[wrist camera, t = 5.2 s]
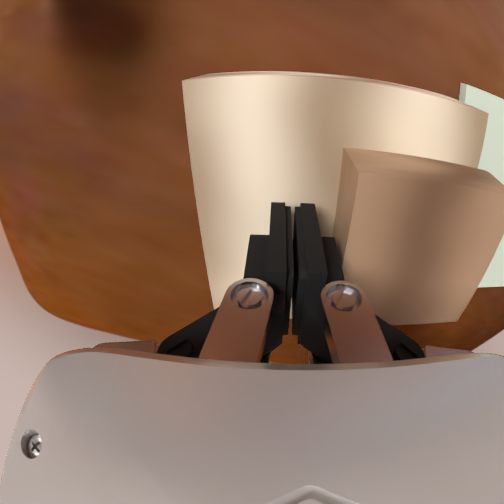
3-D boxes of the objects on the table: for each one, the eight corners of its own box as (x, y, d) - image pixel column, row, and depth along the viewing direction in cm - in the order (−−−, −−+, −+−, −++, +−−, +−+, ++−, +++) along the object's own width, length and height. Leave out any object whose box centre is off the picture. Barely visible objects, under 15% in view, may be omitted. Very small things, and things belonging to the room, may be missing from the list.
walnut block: (487, 171, 9) (517, 197, 7) (442, 287, 13) (456, 321, 11) (343, 147, 10) (358, 172, 8) (322, 287, 14) (327, 326, 12)
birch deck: (444, 95, 11) (488, 113, 8) (401, 272, 18) (418, 317, 15) (208, 74, 12) (182, 80, 9) (226, 268, 19) (215, 315, 16)
